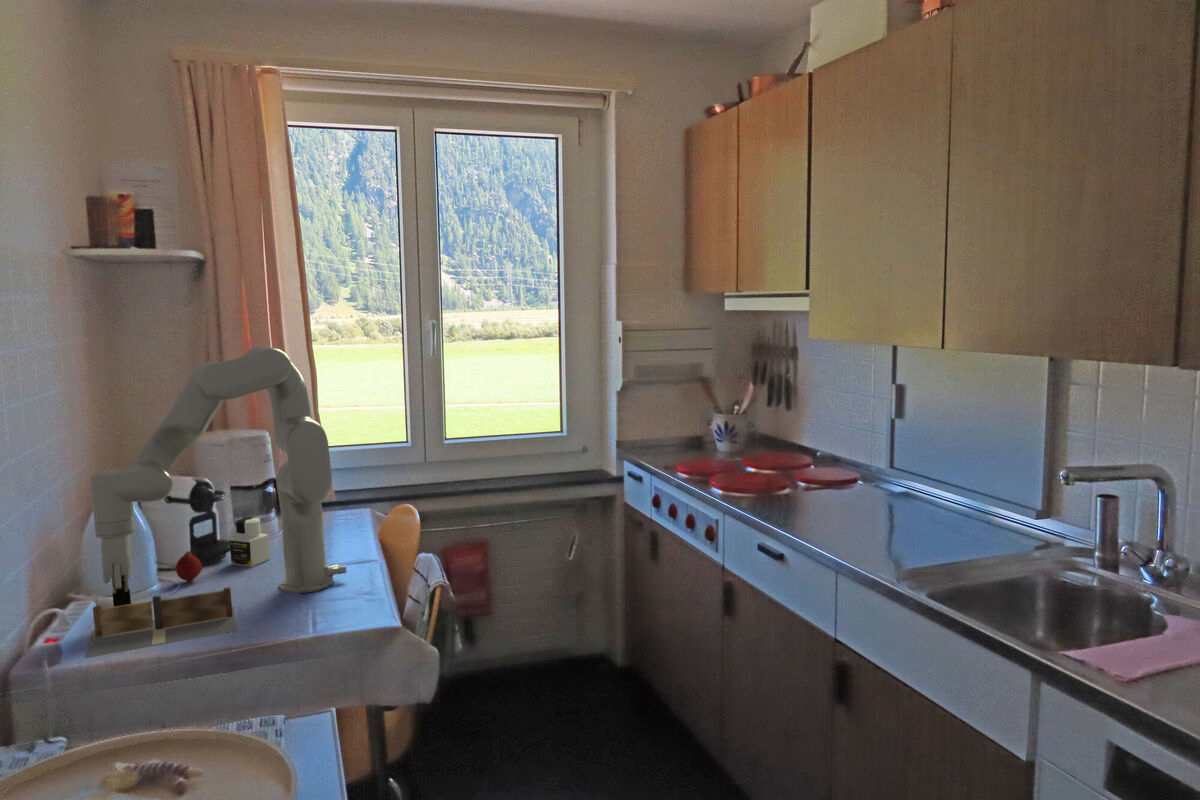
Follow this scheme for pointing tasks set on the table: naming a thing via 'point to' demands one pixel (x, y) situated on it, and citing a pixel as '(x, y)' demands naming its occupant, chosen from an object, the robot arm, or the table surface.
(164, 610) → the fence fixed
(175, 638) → the card
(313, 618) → the table surface
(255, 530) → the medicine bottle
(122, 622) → the fence gate
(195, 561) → the onion
